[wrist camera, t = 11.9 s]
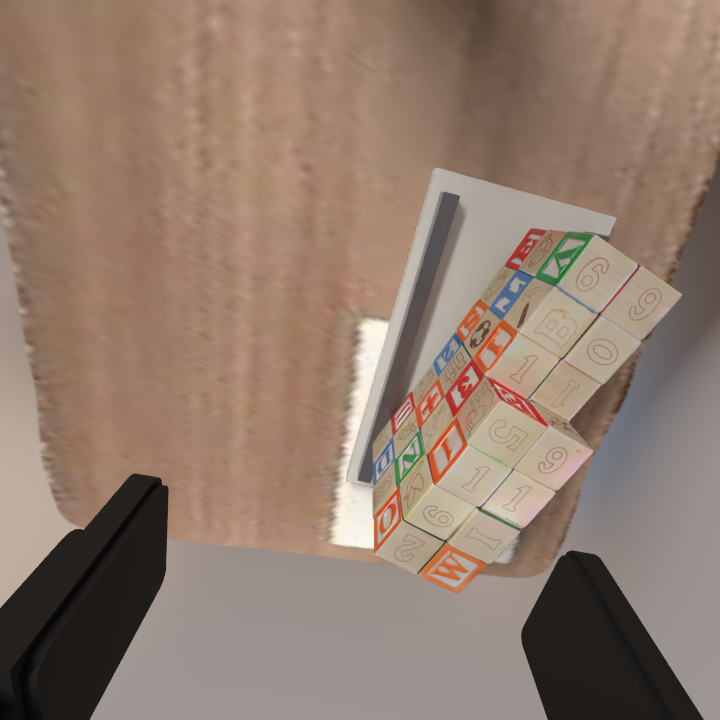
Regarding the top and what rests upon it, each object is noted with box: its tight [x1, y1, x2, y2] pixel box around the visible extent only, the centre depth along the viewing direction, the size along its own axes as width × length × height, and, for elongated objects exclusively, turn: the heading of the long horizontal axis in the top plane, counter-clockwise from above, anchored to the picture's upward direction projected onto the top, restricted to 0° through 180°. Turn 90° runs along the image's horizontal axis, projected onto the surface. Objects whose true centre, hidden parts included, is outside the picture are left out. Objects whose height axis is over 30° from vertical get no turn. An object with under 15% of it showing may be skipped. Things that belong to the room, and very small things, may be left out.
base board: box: [346, 167, 617, 488], centre depth 34 cm, size 28×14×3 cm, turn 166°
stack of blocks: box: [372, 228, 682, 594], centre depth 27 cm, size 21×6×12 cm, turn 149°
